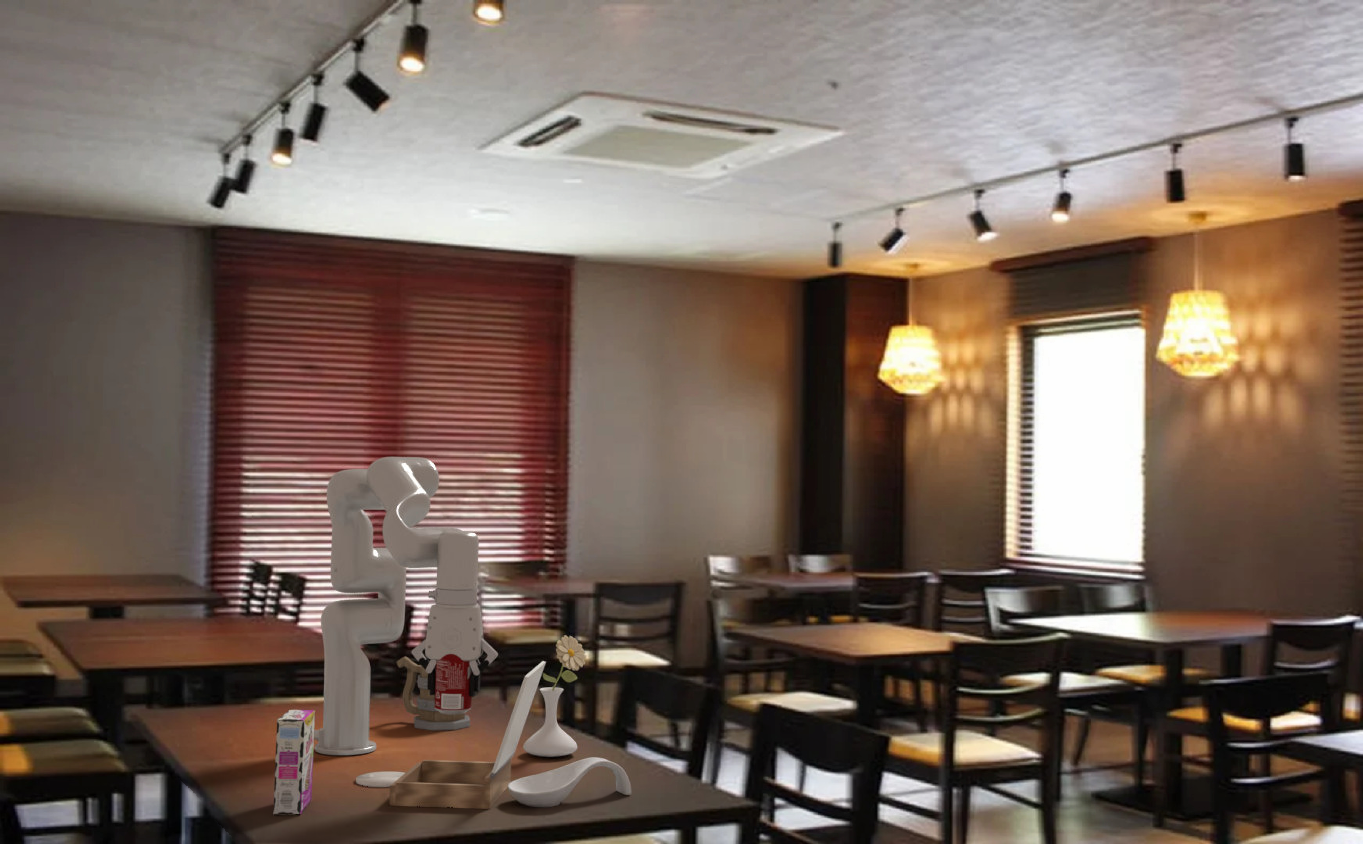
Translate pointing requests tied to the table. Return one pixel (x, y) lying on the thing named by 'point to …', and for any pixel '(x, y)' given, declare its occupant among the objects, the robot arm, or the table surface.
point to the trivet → (378, 779)
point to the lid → (518, 718)
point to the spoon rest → (562, 782)
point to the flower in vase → (551, 735)
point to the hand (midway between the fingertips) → (453, 694)
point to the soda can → (452, 685)
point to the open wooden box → (450, 785)
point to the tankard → (427, 702)
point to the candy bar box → (294, 761)
